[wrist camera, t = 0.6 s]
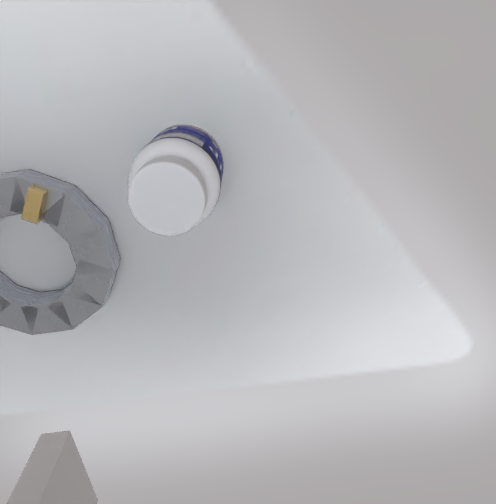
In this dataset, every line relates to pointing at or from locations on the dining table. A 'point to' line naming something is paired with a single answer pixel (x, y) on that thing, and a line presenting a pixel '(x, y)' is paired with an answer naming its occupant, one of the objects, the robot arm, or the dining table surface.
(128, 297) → the dining table surface
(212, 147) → the pill bottle
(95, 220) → the hub
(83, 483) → the robot arm
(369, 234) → the dining table surface
